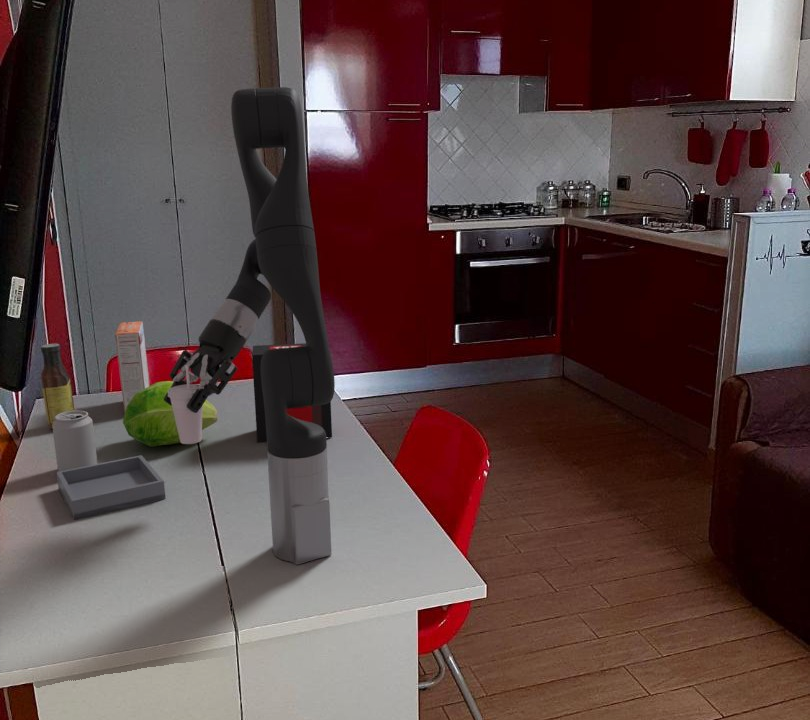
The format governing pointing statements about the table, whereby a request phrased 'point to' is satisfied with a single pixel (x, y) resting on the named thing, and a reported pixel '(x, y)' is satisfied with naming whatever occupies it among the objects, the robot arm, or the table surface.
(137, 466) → the tray
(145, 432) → the lettuce
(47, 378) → the sauce bottle
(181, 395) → the smoothie
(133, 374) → the cracker box
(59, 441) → the can
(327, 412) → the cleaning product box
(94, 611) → the table surface
